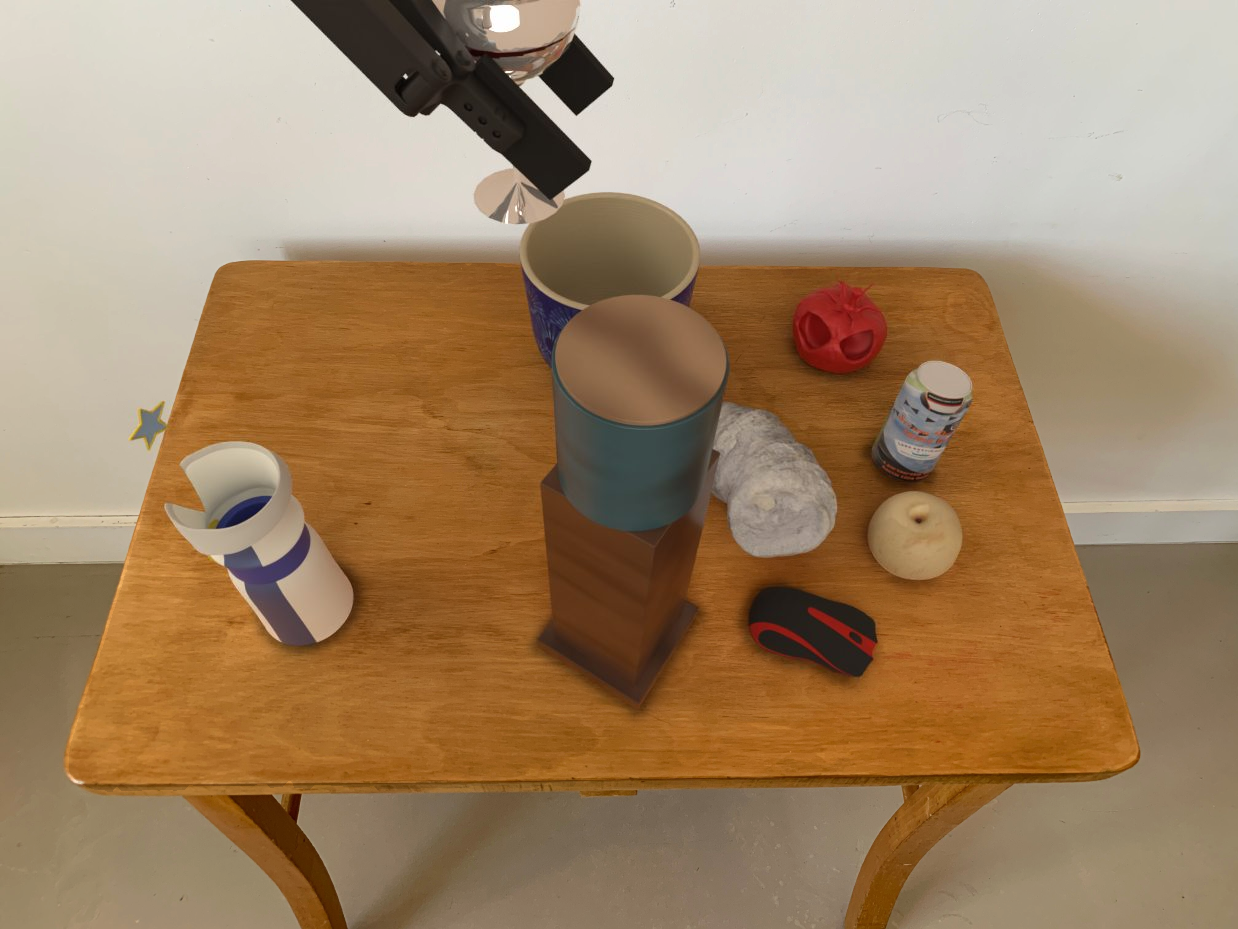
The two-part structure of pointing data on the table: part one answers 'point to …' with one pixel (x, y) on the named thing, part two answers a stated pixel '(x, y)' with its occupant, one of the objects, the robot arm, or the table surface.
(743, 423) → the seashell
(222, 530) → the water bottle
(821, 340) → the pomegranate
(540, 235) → the planter
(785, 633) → the computer mouse
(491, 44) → the wineglass
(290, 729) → the table surface
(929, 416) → the beverage can
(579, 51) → the robot arm
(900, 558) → the apple
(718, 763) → the table surface
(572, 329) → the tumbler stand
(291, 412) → the table surface
